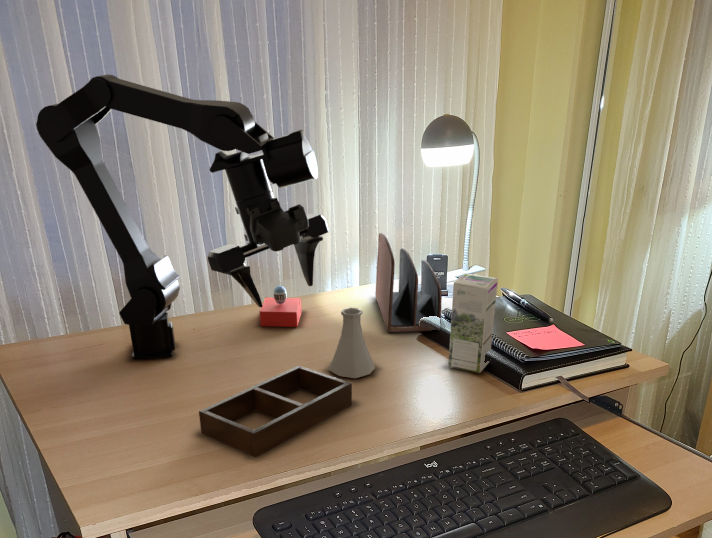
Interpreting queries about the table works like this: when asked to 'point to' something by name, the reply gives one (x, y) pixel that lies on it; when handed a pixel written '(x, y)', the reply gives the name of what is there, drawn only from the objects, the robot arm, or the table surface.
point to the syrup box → (472, 321)
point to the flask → (352, 348)
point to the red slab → (280, 309)
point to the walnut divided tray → (275, 409)
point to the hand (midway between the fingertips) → (285, 296)
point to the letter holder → (405, 291)
